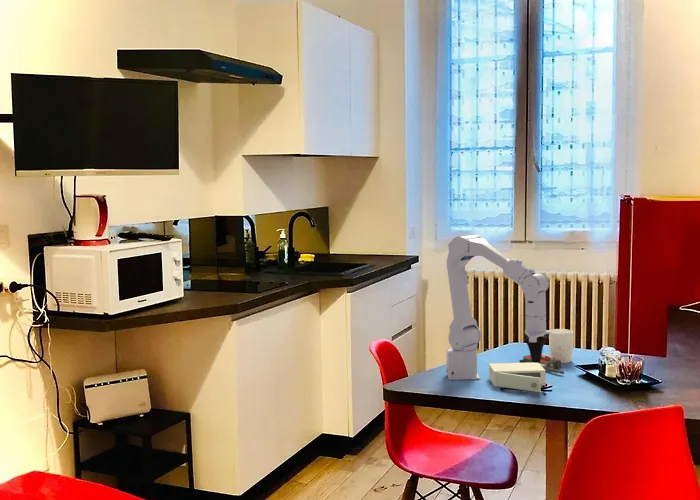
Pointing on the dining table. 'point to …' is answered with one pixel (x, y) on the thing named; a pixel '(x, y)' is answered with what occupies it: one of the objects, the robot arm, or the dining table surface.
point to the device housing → (517, 370)
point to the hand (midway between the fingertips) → (536, 362)
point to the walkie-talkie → (546, 363)
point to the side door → (519, 382)
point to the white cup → (561, 344)
